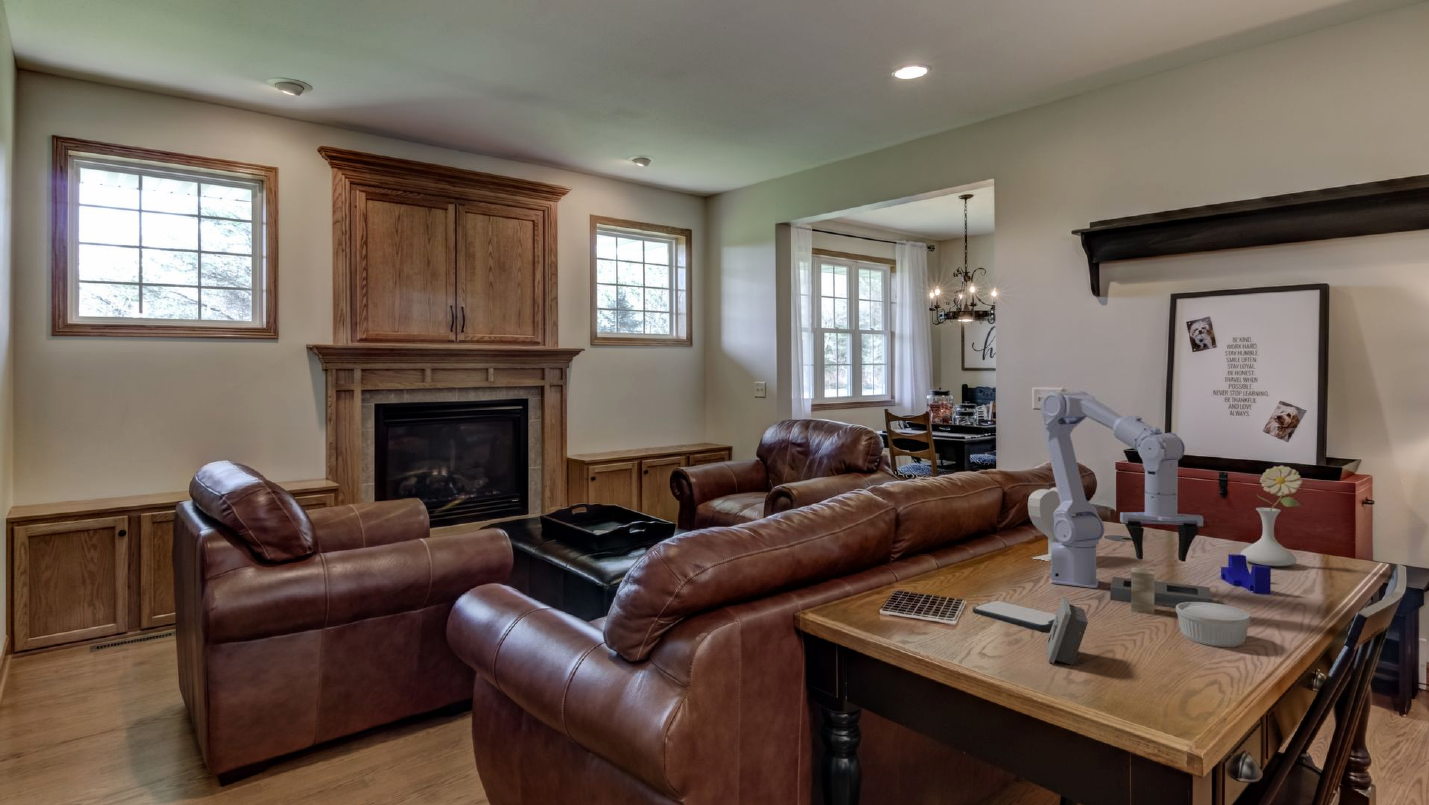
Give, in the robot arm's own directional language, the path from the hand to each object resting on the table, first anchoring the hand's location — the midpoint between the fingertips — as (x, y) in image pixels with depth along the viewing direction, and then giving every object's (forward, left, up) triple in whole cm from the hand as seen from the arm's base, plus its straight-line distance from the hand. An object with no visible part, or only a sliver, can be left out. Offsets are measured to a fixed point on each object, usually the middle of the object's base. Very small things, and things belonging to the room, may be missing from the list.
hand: (1160, 559), depth 152 cm
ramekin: (+8, -16, -10) cm, 21 cm away
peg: (-3, -3, -10) cm, 11 cm away
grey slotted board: (0, +7, -10) cm, 12 cm away
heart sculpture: (-24, +37, -10) cm, 45 cm away
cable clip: (+16, +27, -10) cm, 33 cm away
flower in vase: (+24, +53, -10) cm, 59 cm away
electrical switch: (-14, -38, -10) cm, 42 cm away
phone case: (-24, -20, -11) cm, 33 cm away
